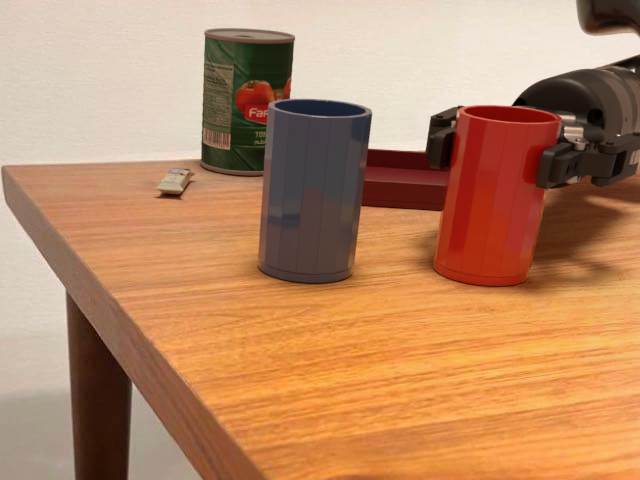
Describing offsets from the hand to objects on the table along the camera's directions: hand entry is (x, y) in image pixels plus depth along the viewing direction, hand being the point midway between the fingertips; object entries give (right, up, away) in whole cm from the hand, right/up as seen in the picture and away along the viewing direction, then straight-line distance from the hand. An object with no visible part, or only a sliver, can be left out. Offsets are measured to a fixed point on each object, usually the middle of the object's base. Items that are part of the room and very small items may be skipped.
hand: (489, 161), depth 61 cm
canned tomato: (-15, +11, +29) cm, 34 cm away
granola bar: (-21, +6, +21) cm, 30 cm away
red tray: (+1, +7, +24) cm, 25 cm away
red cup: (+1, -5, +6) cm, 8 cm away
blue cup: (-11, -5, +5) cm, 13 cm away
